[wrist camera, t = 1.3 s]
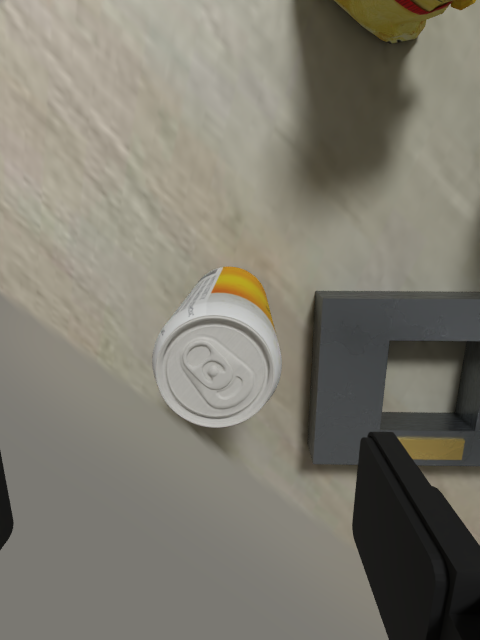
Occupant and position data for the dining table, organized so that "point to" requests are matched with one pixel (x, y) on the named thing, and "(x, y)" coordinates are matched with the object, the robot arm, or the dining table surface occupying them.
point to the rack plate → (370, 372)
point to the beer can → (219, 351)
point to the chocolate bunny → (397, 15)
